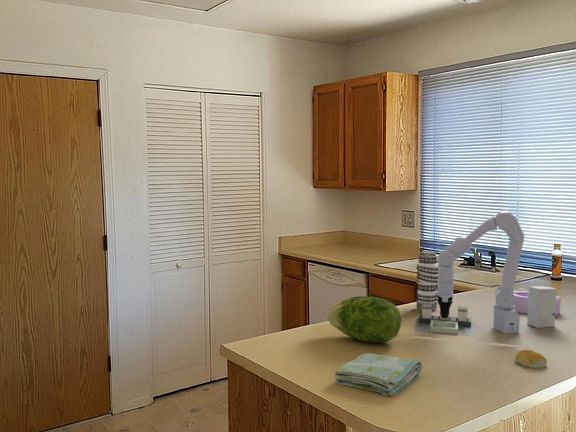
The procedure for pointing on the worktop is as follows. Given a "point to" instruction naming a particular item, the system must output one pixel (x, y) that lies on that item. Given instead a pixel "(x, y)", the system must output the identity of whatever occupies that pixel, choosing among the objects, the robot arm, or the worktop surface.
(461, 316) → the block
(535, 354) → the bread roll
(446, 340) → the worktop surface
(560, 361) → the worktop surface
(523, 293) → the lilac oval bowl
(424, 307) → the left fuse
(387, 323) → the lettuce
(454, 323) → the panel
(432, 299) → the striped tower model
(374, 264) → the worktop surface
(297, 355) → the worktop surface
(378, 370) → the towel
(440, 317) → the block
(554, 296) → the skincare box
